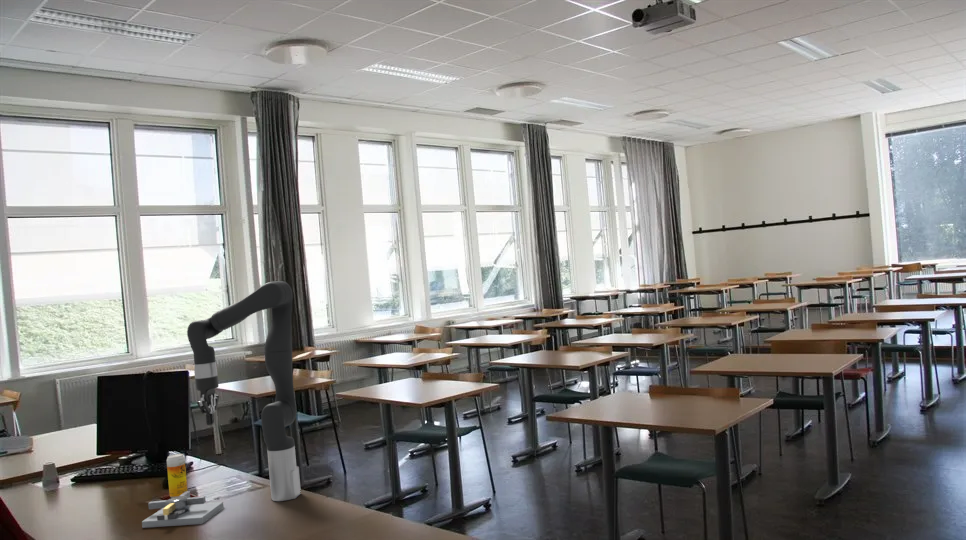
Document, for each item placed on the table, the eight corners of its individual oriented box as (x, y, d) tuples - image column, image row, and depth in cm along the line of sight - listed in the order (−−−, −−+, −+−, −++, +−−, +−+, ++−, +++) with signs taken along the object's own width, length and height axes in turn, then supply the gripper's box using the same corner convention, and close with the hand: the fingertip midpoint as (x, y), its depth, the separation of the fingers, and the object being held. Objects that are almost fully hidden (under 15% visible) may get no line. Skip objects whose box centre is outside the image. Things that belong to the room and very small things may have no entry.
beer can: (180, 499, 249) (177, 457, 249) (166, 499, 250) (162, 458, 250) (191, 493, 255) (187, 453, 255) (176, 493, 256) (173, 453, 256)
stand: (223, 507, 233) (222, 497, 233) (202, 523, 218) (201, 513, 218) (167, 511, 235) (166, 501, 235) (142, 527, 220) (141, 517, 220)
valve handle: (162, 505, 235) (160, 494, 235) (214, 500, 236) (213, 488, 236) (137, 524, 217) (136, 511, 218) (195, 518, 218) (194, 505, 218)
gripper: (208, 377, 238) (212, 427, 238) (224, 372, 251) (228, 419, 251) (187, 379, 238) (191, 429, 238) (204, 374, 251) (208, 421, 251)
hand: (210, 424), depth 244 cm, fingers closed
